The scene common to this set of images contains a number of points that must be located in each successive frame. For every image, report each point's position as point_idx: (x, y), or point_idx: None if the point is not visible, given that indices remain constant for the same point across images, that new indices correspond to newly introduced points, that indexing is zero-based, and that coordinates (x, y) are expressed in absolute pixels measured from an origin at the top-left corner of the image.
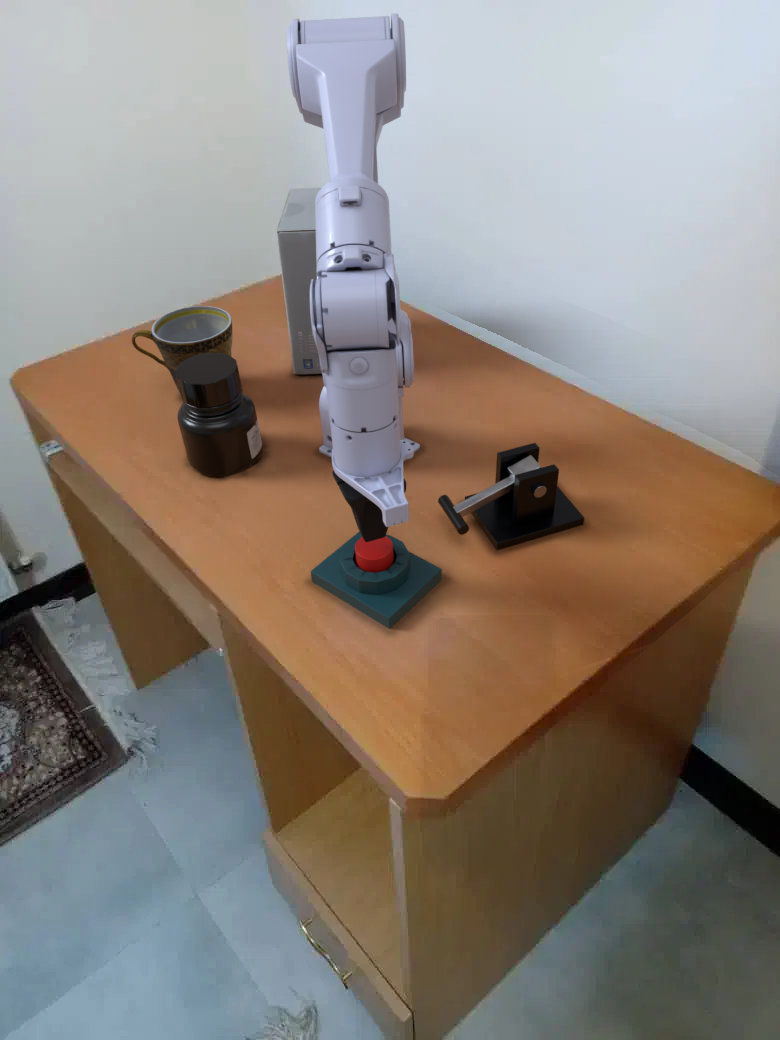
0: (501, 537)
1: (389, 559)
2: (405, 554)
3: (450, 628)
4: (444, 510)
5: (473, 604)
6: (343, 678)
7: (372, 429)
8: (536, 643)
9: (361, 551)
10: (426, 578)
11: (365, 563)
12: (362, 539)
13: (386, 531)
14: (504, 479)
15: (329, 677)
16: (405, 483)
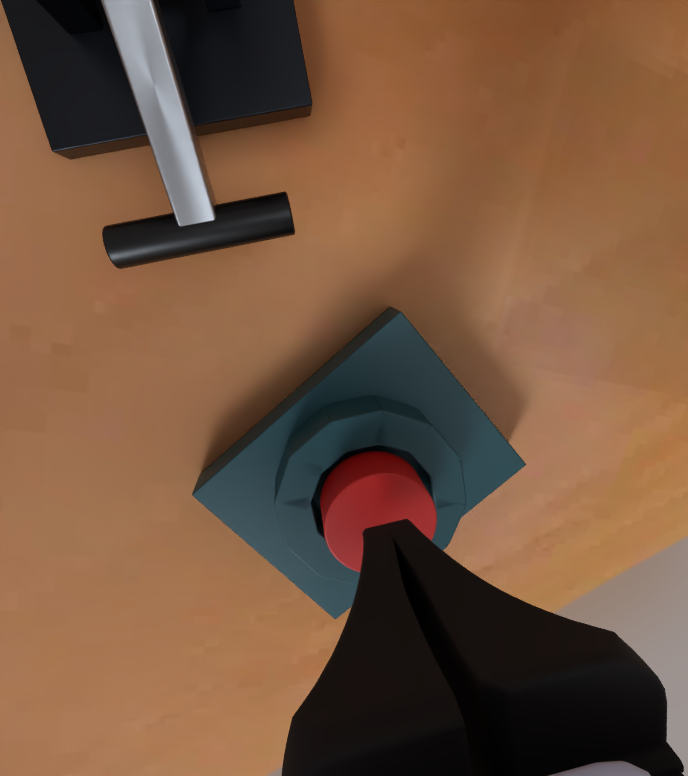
0: (287, 80)
1: (418, 477)
2: (385, 422)
3: (539, 316)
4: (178, 257)
5: (485, 242)
6: (589, 539)
7: None
8: (647, 115)
9: None
10: (426, 359)
11: None
12: (343, 553)
13: (417, 528)
14: None
15: (579, 562)
16: (630, 670)
